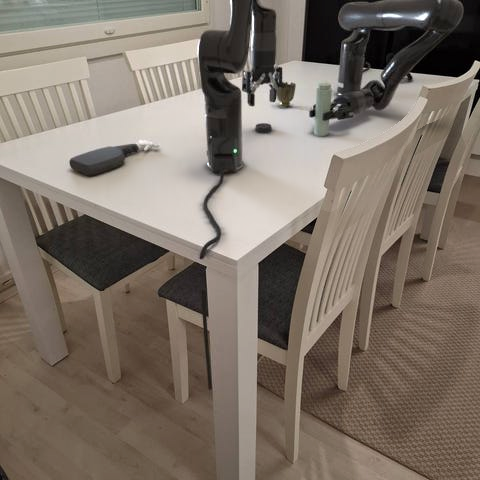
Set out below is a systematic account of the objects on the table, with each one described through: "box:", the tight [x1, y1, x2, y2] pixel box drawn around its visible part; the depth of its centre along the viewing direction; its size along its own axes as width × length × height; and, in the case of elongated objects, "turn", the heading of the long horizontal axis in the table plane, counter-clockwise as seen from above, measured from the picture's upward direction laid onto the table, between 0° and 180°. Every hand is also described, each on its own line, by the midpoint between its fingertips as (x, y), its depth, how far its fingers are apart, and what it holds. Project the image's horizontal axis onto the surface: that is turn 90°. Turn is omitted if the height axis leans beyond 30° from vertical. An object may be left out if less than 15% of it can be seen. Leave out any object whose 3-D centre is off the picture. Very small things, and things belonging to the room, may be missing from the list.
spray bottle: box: [68, 139, 160, 177], centre depth 124 cm, size 3×11×24 cm
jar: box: [313, 82, 333, 137], centre depth 137 cm, size 4×4×15 cm
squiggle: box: [385, 52, 414, 81], centre depth 198 cm, size 11×10×15 cm
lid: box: [254, 122, 273, 134], centre depth 144 cm, size 5×5×2 cm
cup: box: [276, 81, 297, 108], centre depth 166 cm, size 8×7×8 cm
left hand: (262, 103), depth 140 cm, fingers open, 8 cm apart
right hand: (317, 115), depth 136 cm, fingers closed on jar, 4 cm apart
